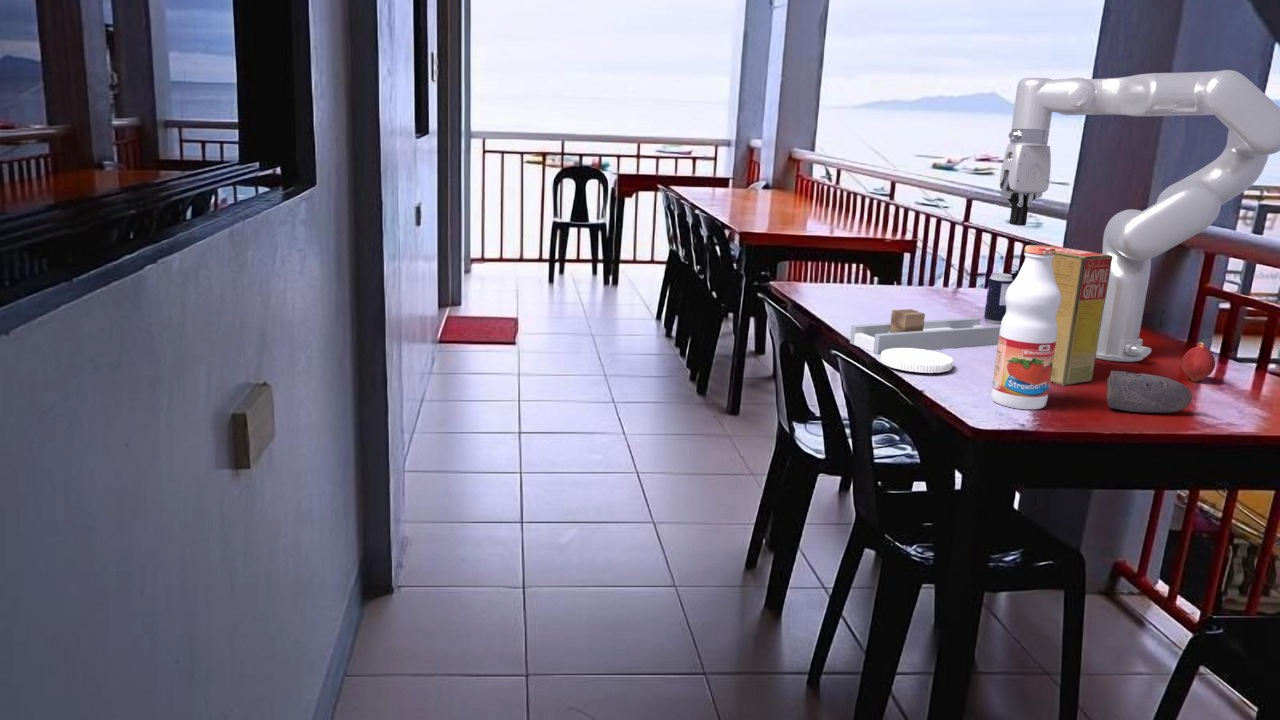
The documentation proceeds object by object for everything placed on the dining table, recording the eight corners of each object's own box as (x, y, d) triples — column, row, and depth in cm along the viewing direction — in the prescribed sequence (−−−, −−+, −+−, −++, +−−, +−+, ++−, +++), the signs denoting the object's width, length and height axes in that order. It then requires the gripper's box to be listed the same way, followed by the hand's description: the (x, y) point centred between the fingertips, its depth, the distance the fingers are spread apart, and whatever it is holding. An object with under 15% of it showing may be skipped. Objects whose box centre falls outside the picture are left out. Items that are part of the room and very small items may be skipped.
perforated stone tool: (1183, 410, 171) (1190, 373, 169) (1195, 419, 166) (1202, 381, 164) (1094, 404, 173) (1100, 367, 171) (1103, 412, 168) (1110, 374, 166)
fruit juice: (1026, 394, 177) (1048, 243, 170) (1057, 410, 168) (1082, 251, 161) (980, 395, 175) (1000, 242, 168) (1009, 411, 166) (1031, 250, 159)
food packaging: (1094, 381, 188) (1115, 254, 182) (1063, 386, 184) (1083, 256, 177) (1037, 364, 199) (1055, 245, 193) (1006, 369, 195) (1023, 246, 188)
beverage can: (1004, 320, 243) (1010, 273, 240) (1010, 324, 238) (1016, 277, 235) (981, 318, 244) (987, 272, 241) (986, 323, 238) (992, 275, 235)
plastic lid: (959, 367, 196) (961, 355, 195) (940, 381, 185) (941, 369, 184) (893, 356, 203) (894, 344, 203) (870, 369, 192) (871, 357, 191)
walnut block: (922, 335, 210) (924, 313, 209) (903, 337, 208) (906, 314, 207) (908, 331, 215) (910, 309, 214) (889, 332, 213) (892, 310, 212)
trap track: (1004, 344, 217) (1007, 326, 216) (877, 354, 203) (879, 335, 202) (973, 334, 226) (975, 317, 225) (849, 343, 212) (851, 325, 211)
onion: (1181, 375, 195) (1188, 337, 193) (1213, 381, 191) (1221, 342, 189) (1175, 381, 190) (1182, 342, 188) (1208, 387, 187) (1216, 347, 185)
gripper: (1015, 138, 198) (1003, 227, 202) (1069, 139, 203) (1056, 226, 208) (989, 136, 204) (978, 223, 209) (1042, 138, 210) (1030, 222, 215)
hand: (1017, 224), depth 208 cm, fingers closed
